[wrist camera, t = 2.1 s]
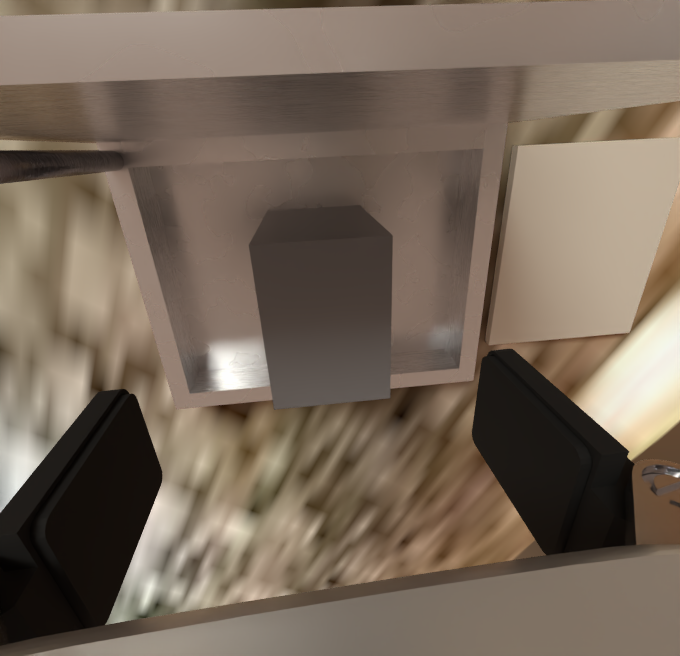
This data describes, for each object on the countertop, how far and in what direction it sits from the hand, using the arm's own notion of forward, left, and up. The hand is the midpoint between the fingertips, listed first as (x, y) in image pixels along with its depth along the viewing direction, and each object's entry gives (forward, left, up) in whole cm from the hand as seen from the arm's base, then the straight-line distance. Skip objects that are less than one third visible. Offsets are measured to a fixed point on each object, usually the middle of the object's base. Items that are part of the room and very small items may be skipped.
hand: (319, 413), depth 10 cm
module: (-1, 0, -13) cm, 13 cm away
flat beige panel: (-17, 0, -13) cm, 21 cm away
